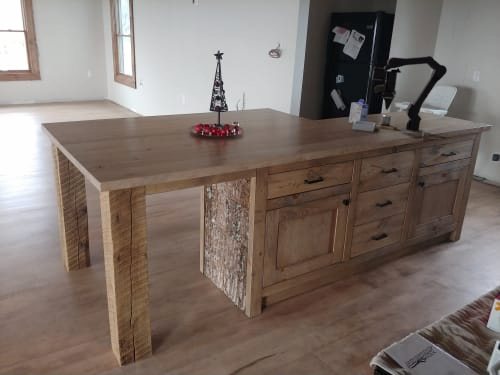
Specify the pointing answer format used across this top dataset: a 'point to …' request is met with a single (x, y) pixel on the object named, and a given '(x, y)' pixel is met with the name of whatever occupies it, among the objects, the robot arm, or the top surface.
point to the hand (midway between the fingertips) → (387, 108)
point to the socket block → (379, 125)
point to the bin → (363, 126)
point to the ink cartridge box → (358, 111)
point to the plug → (386, 120)
